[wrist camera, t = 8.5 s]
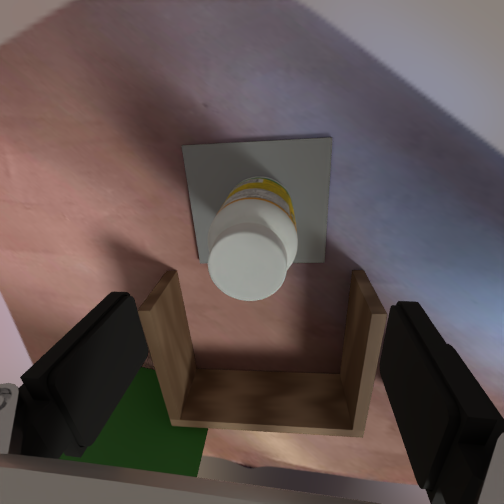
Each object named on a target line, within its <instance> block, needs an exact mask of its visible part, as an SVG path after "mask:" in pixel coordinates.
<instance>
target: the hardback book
mask: <svg viewBox="0 0 504 504" xmlns="http://www.w3.org/2000/svg"><path fill="white" fill-rule="evenodd" d="M207 431H208V428H198V427H182V426H172V425H171V421H170V418H169V415H168V411H167V408H166V404H165V401H164V398H163V394H162V391H161V388H160V384H159V381H158V378H157V374H156V371H155V370H152V369H148V368H144V367H141V368H140V370H139V371H138V373H137V374H136V376H135V378H134V379H133V381H132V382H131V384H130V386H129V387H128V389H127V390H126V392H125V394H124V395H123V397H122V399H121V400H120V402H119V403H118V405H117V407H116V408H115V410H114V411H113V413H112V415H111V416H110V418H109V419H108V421H107V423H106V424H105V426H104V427H103V429H102V431H101V432H100V434H99V435H98V437H97V439H96V440H95V442H94V443H93V444H92V445H91V446H89V447H87V449H86V450H85V452H84V454H83V455H82V457H81V458H79V457H72V456H65V454H64V452H63V454H62V455H61V457H60V458H59V459H62V460H69V461H77V462H85V463H92V464H100V465H108V466H115V467H123V468H131V469H139V470H146V471H153V472H161V473H168V474H176V475H183V476H190V477H197V474H198V470H199V465H200V461H201V457H202V453H203V449H204V444H205V440H206V436H207Z"/></svg>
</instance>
